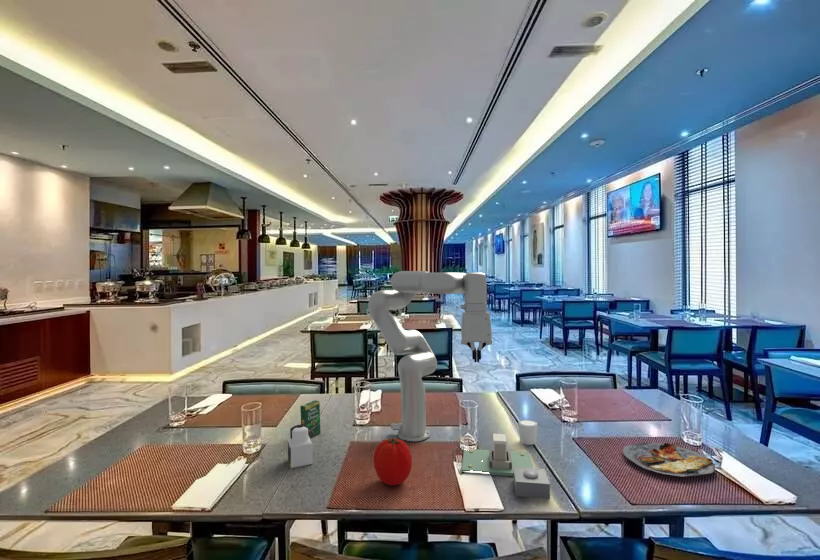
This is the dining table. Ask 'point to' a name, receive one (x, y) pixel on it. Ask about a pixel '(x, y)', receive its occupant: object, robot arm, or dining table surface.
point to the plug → (499, 447)
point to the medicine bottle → (299, 447)
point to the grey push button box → (531, 482)
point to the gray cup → (528, 431)
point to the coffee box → (311, 417)
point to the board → (476, 456)
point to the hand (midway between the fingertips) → (476, 361)
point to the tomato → (392, 461)
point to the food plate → (669, 459)
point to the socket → (500, 463)
